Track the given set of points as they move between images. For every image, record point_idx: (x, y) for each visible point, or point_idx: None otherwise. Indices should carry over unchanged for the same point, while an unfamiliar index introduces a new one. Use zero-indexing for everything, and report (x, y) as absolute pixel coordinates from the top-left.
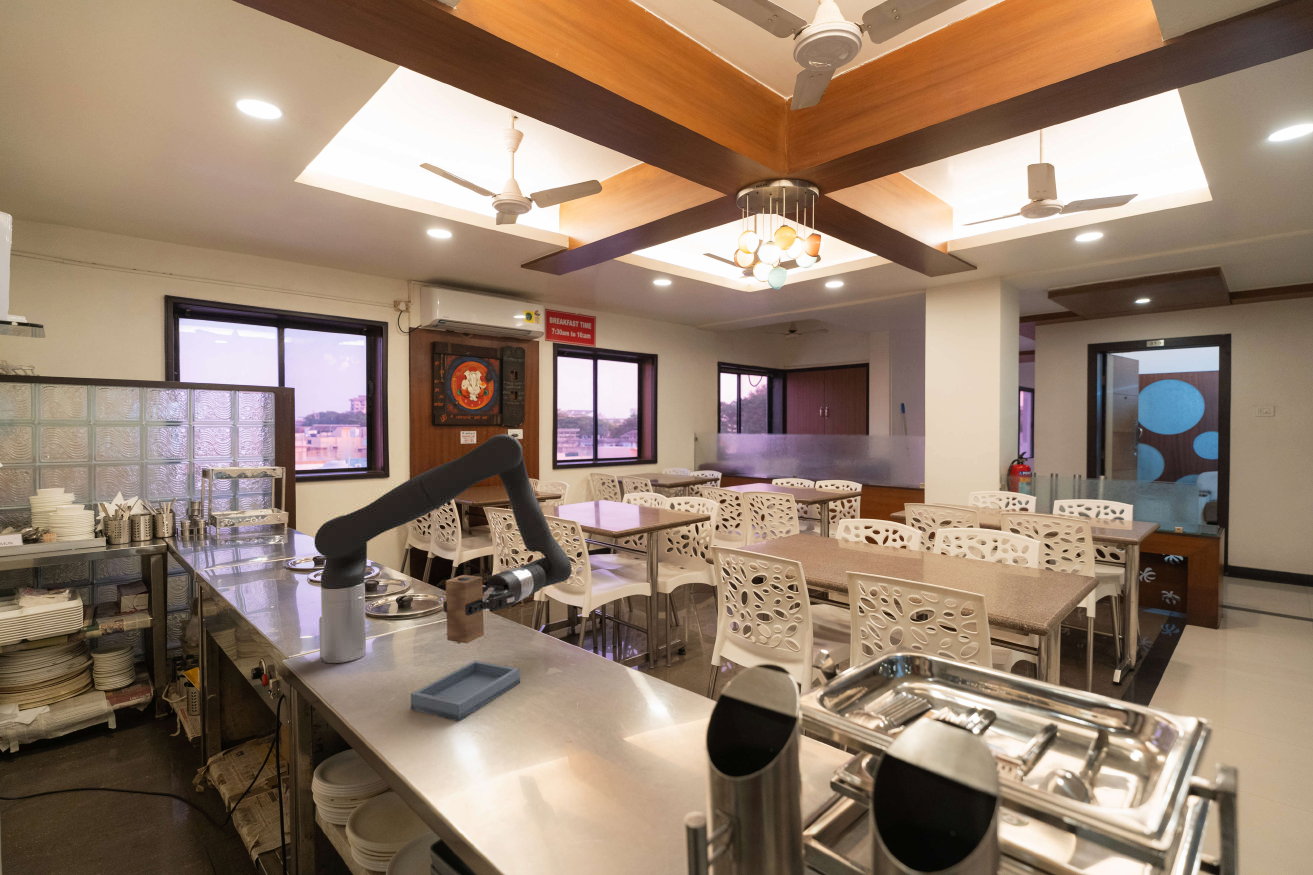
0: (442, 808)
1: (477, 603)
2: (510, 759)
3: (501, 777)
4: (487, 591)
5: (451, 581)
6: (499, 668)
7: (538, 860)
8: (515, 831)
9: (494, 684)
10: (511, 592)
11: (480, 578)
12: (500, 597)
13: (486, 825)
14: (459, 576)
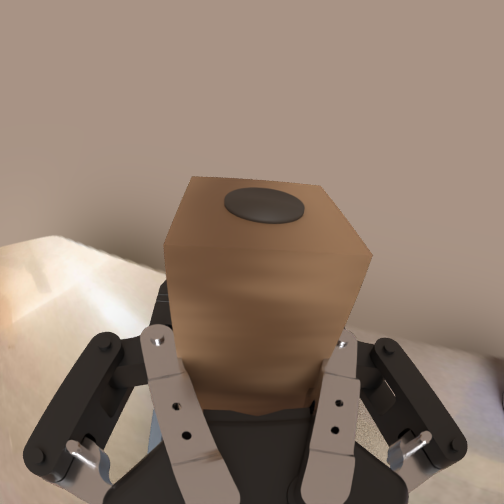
0: (101, 254)
1: (166, 311)
2: (63, 309)
3: (66, 287)
4: (190, 415)
5: (285, 183)
6: None
7: (34, 241)
8: (47, 251)
9: (150, 438)
10: (33, 453)
11: (168, 239)
12: (70, 374)
13: (66, 250)
14: (349, 231)
